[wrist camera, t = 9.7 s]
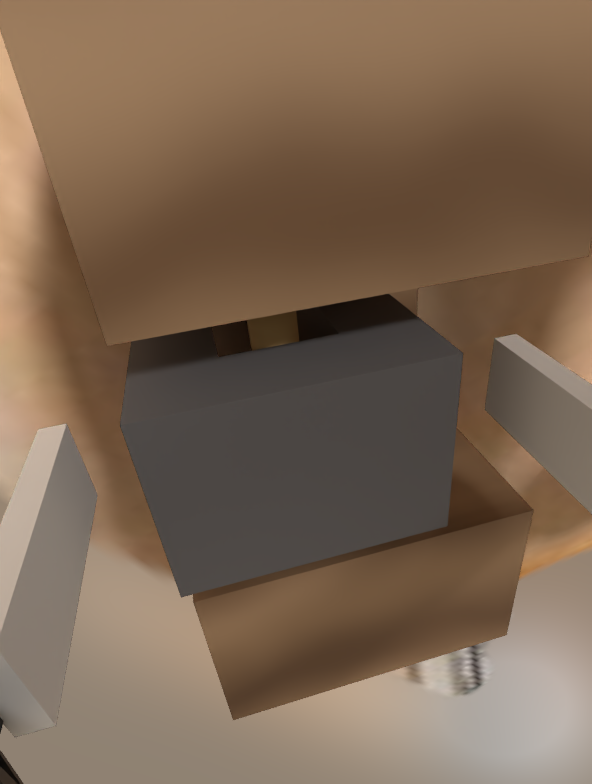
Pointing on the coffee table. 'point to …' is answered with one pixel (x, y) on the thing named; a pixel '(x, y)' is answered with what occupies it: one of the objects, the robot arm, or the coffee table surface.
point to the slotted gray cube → (293, 440)
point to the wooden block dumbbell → (319, 243)
